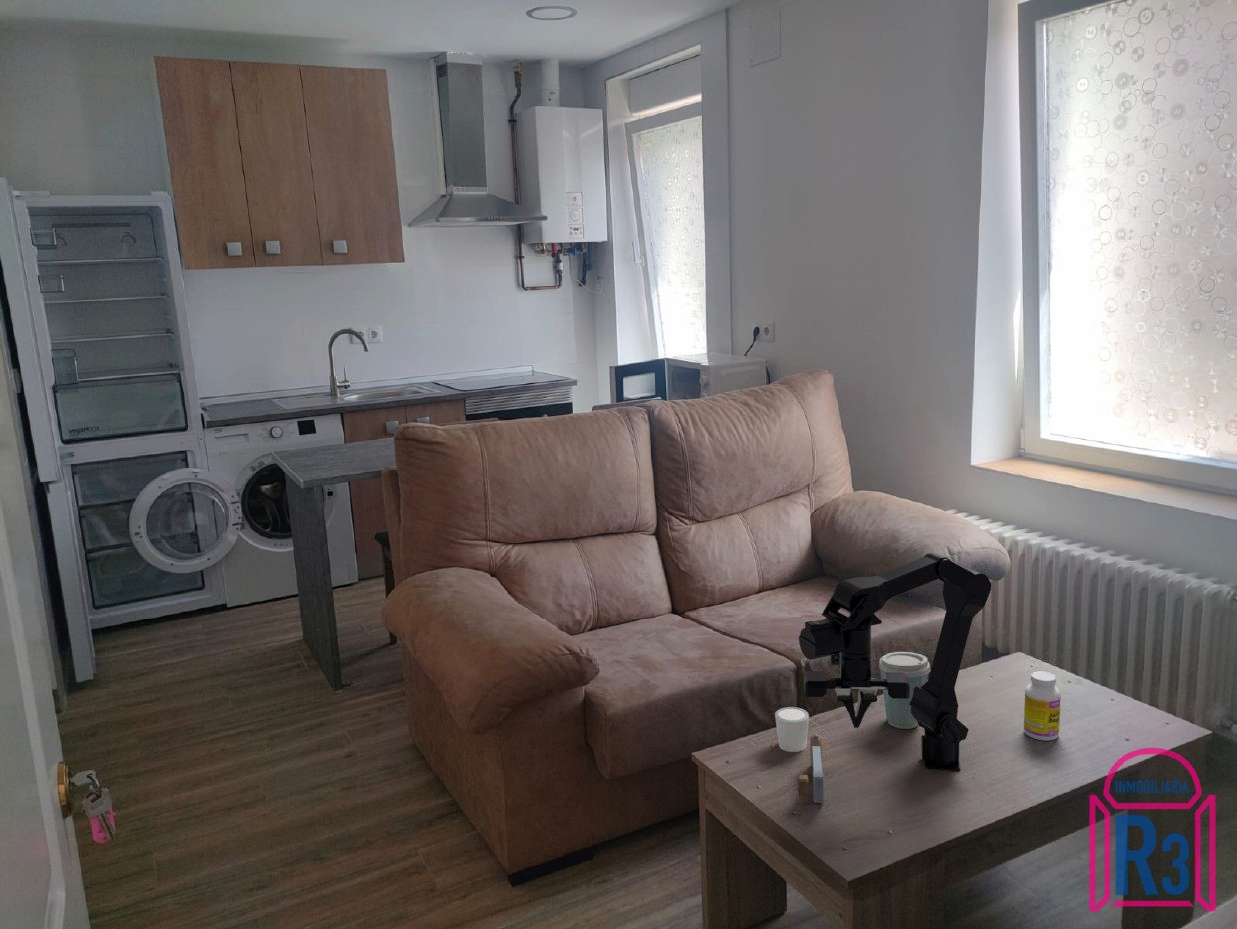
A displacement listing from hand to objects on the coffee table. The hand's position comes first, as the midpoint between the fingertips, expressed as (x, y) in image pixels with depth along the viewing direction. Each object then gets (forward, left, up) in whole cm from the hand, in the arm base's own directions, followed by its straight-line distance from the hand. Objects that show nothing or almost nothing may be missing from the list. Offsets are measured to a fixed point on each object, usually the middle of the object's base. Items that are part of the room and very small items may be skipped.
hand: (856, 727), depth 174 cm
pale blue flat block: (+7, +1, -11) cm, 14 cm away
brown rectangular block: (+10, +7, -12) cm, 17 cm away
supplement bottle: (-37, -25, -12) cm, 46 cm away
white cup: (+13, -14, -12) cm, 22 cm away
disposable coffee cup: (-10, -27, -12) cm, 31 cm away
